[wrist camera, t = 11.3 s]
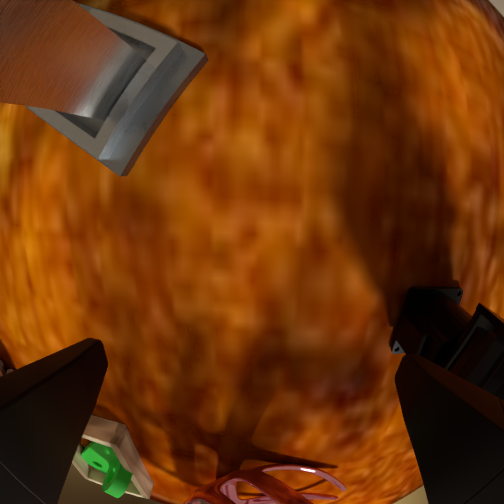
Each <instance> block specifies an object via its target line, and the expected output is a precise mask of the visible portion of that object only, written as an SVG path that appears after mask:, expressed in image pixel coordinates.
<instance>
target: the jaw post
mask: <svg viewBox="0 0 504 504" xmlns="http://www.w3.org/2000/svg"><path fill="white" fill-rule="evenodd" d="M146 61H147V60H145V59H144V58H143V57H142V56H141V55H140V54H139V53H137V52H136V51H135V50H134V49H133V48H132V47H130V46H129V45H128V44H127V43H126V42H125V41H123V40H122V39H121V38H120V37H119V36H117V35H116V34H115V33H114V32H113V31H111V30H110V29H109V28H108V27H106V26H105V25H104V24H103V23H101V22H100V21H99V20H98V19H96V18H95V17H94V16H93V15H91V14H90V13H89V12H87V11H86V10H85V9H83V8H82V7H81V6H79V5H78V4H77V3H75V2H74V1H73V0H0V102H1V103H10V104H17V105H24V106H31V107H37V108H43V109H49V110H55V111H60V112H65V113H70V114H75V115H80V116H85V117H89V118H94V119H98V120H102V121H105V120H106V119H107V117H108V116H109V114H110V112H111V111H112V109H113V107H114V106H115V104H116V103H117V101H118V100H119V98H120V97H121V95H122V94H123V92H124V91H125V89H126V88H127V86H128V85H129V84H130V82H131V81H132V79H133V78H134V77H135V75H136V74H137V72H138V71H139V70H140V68H141V67H142V66H143V64H144V63H145V62H146Z"/></svg>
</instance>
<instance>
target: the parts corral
mask: <svg viewBox="0 0 504 504" xmlns="http://www.w3.org/2000/svg"><path fill="white" fill-rule="evenodd" d="M82 438H85V439H88V440H91V441H94V442H96V443H99V444H102V445H106V446H109V447H112V449H113V451H114V452H115V454H116V456H117V458H118V459H119V461H120V463H121V464H122V466H123V468H124V469H125V470H127V471H129V472H131V473H132V474H133V475H132V478H131V481H130V484H129V486H128V488H127V489H126V491H125V493H128V494H132V495H135V496H139V497H143V498H147V499H150V495H151V491H152V487H153V484H154V483H153V481H152V480H151V478H150V476H149V474H148V472H147V470H146V468H145V466H144V464H143V462H142V460H141V458H140V456H139V454H138V451H137V449H136V447H135V445H134V443H133V440H132V438H131V436H130V433H129V431H128V429H127V426H126V424H122V423H118V422H115V421H111V420H107V419H104V418H101V417H97V416H94V415H91V417H90V419H89V422H88V424H87V426H86V429H85V431H84V433H83V436H82ZM83 450H84V449H83V447H82V446H81V444H80V443H79V446H78V448H77V451H76V453H75V456H74V458H73V461H72V463H73V465H74V466H75V467H76V468H77V469H78V471H79V472H80V473H81V474H82V476H83V477H84V478H85V479H88V480H90V481H93V482H95V483H98V484H101V485H103V481H104V479H105V476H106V474H104V473H102V472H101V471H99V470H97V469H96V468H94V467H92V466H91V465H89V464H88V463H87V462H86V461H85V460H84V459H83V458H82V456H81V454H82V452H83Z"/></svg>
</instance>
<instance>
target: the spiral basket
mask: <svg viewBox="0 0 504 504" xmlns="http://www.w3.org/2000/svg"><path fill="white" fill-rule="evenodd" d="M273 470H297V471H303V472H308V473H311V474H314V475H317V476H320V477H322V478H324V479H326V480H328V481H329V482H331V483H333V484H334V485H335V486H337V487H338V488H339V489H341V490H342V491H346V487H345V485H344V484H343V483H342V482H341V481H339V480H338V479H337V478H335V477H334V476H332V475H331V474H329V473H327V472H325V471H323V470H320V469H317V468H314V467H310V466H306V465H300V464H268V465H261V466H255V467H249V468H244V469H240V470H236V471H233V472H230V473H228V474H227V475H225V476H223V477H221V478H219V479H217V480H215V481H213V482H211V483H209V484H206V485H203V486H201V487H199V488H197V489H196V490H194V491H193V492H192V493H191V494H190V496H189V498H188V499H187V500H186V502H185V503H184V504H272V503H276V504H313V503H312V502H311V501H309V500H308V499H329V500H335V499H338V497H337V496H334V495H328V494H320V493H298V492H297V491H296V490H294V489H293V488H291V487H290V486H288V485H287V484H285V483H283V482H282V481H280V480H278V479H276V478H275V477H273V476H271V475H268V474H266V473H264V472H266V471H273ZM237 481H244V482H247V483H248V484H250V485H252V486H253V487H255V488H256V489H258V490H259V491H261V492H262V493H264V494H265V496H259V497H254V498H249V499H240V498H239V497H238V494H237Z"/></svg>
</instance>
